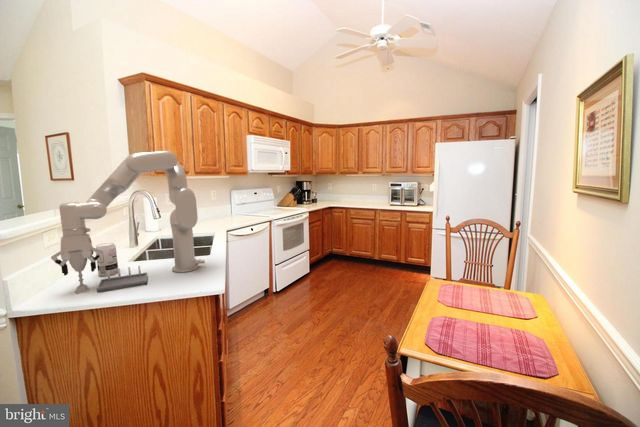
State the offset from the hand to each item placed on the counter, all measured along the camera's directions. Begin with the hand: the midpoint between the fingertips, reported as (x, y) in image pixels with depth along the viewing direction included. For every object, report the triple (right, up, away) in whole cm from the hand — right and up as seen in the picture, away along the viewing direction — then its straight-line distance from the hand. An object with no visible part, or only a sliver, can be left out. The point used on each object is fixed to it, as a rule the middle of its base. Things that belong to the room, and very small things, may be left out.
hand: (79, 272), depth 126 cm
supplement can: (-3, -5, +22) cm, 23 cm away
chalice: (0, -8, +1) cm, 8 cm away
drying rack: (+13, -7, +8) cm, 17 cm away
